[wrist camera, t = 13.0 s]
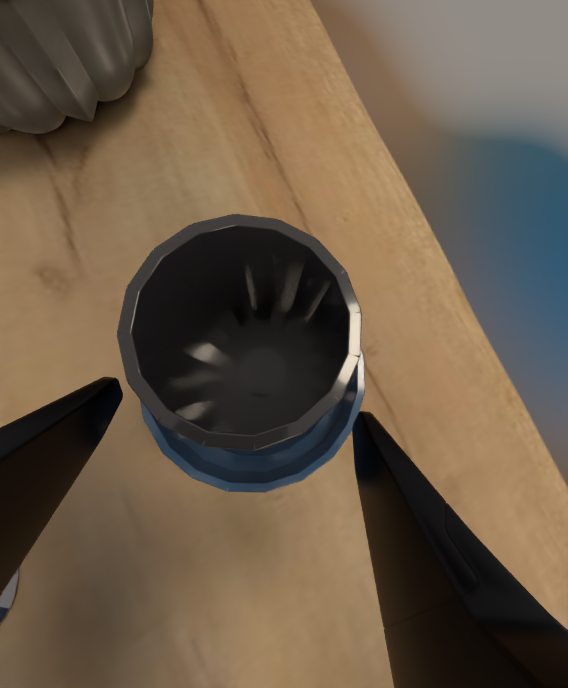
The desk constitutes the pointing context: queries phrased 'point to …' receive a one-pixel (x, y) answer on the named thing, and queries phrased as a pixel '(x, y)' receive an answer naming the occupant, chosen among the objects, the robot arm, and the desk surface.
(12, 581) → the wine glass
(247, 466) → the bowl
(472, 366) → the desk surface
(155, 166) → the desk surface
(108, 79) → the bundt pan
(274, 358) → the cup
